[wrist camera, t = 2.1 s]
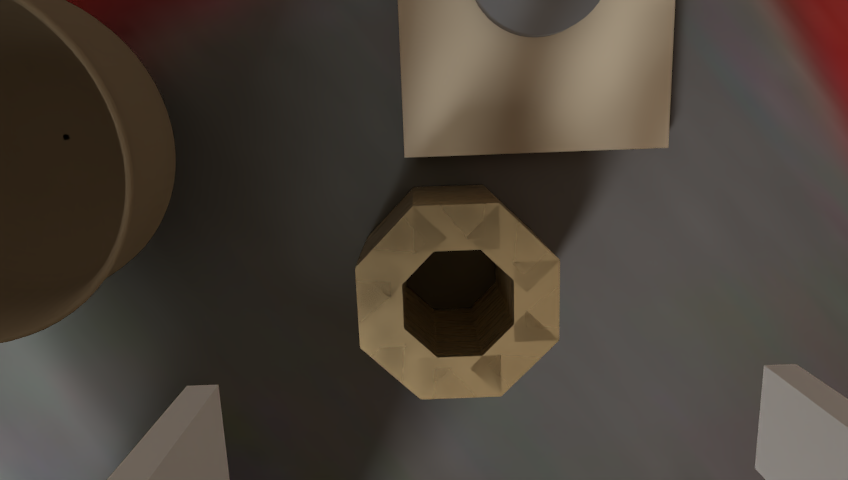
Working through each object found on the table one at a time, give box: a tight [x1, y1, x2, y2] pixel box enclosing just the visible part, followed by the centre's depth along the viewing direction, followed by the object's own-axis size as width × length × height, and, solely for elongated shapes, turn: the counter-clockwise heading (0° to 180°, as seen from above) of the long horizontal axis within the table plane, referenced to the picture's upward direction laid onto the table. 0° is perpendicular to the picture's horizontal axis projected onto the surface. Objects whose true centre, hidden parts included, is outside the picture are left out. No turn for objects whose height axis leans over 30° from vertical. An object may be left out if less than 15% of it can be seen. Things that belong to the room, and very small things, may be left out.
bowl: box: [0, 0, 176, 343], centre depth 23 cm, size 13×13×10 cm
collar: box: [355, 184, 560, 399], centre depth 27 cm, size 8×8×6 cm
